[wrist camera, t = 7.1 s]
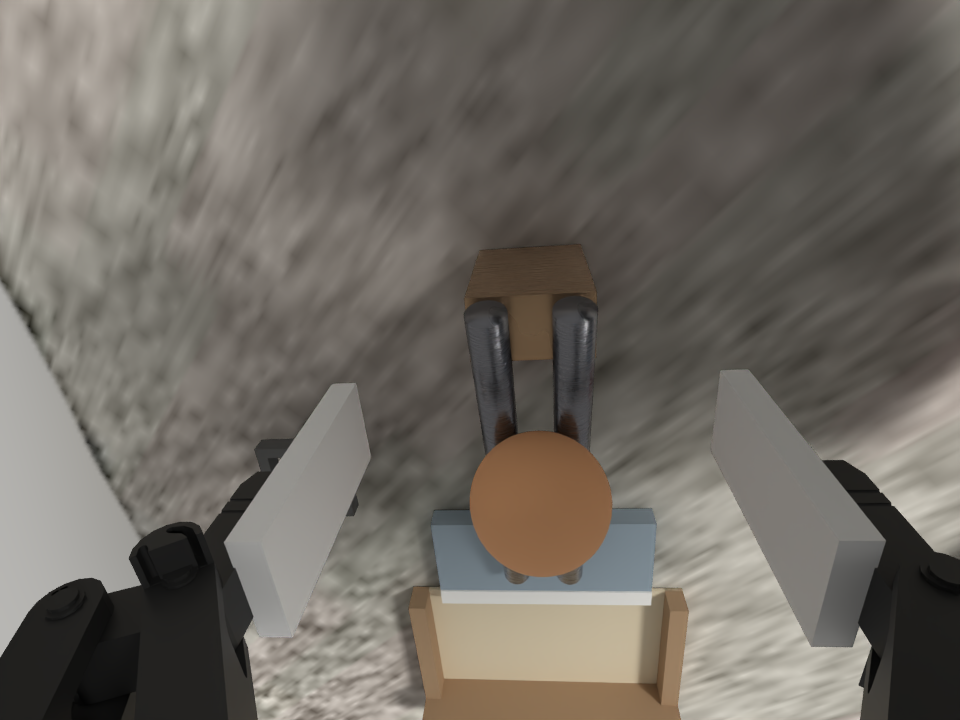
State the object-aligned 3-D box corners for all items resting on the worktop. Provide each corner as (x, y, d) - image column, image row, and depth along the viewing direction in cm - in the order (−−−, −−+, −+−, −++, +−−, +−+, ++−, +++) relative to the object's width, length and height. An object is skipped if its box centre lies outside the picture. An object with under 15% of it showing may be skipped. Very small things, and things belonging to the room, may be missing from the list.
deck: (434, 510, 31) (430, 526, 30) (652, 508, 30) (657, 525, 28) (445, 586, 33) (442, 604, 32) (646, 588, 32) (650, 606, 31)
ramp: (479, 248, 24) (457, 315, 17) (580, 242, 24) (603, 309, 16) (504, 546, 32) (496, 685, 24) (581, 547, 31) (597, 687, 24)
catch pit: (413, 586, 34) (403, 629, 31) (681, 588, 32) (695, 633, 29) (432, 690, 38) (425, 735, 35) (670, 696, 36) (681, 745, 34)
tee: (287, 407, 29) (254, 449, 25) (360, 405, 28) (337, 447, 25) (303, 469, 30) (275, 516, 27) (373, 468, 30) (353, 516, 26)
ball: (454, 499, 16) (475, 613, 18) (624, 487, 16) (625, 606, 18) (465, 410, 21) (481, 511, 23) (598, 398, 20) (601, 503, 22)
